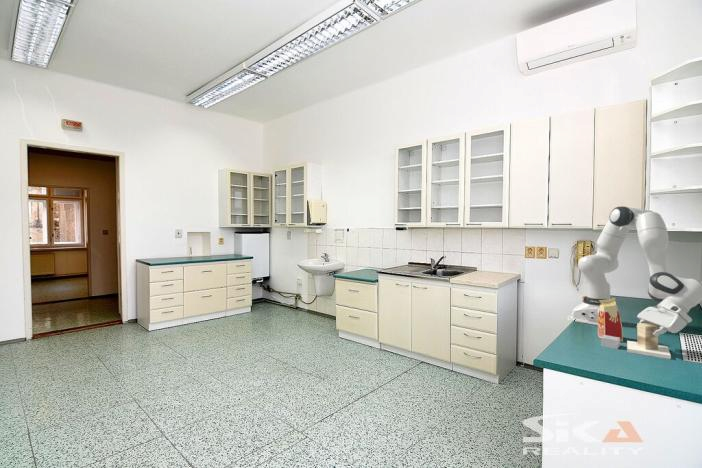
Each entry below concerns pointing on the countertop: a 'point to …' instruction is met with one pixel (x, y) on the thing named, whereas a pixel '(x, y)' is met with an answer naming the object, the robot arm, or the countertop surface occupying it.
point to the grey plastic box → (610, 341)
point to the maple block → (647, 336)
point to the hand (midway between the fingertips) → (645, 331)
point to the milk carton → (609, 319)
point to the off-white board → (648, 350)
